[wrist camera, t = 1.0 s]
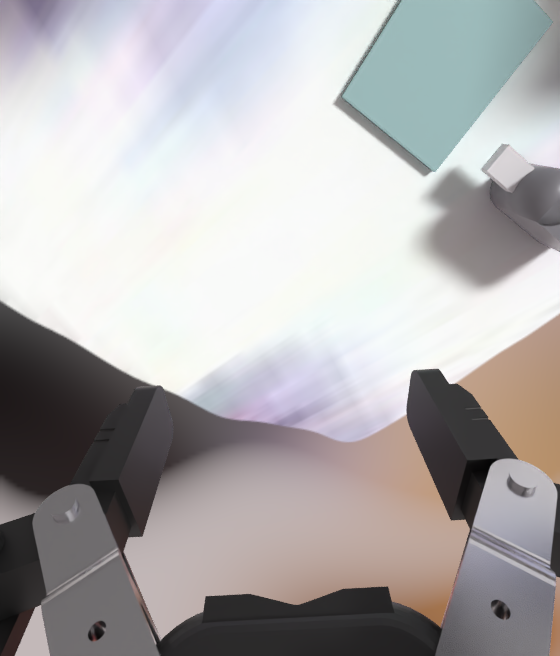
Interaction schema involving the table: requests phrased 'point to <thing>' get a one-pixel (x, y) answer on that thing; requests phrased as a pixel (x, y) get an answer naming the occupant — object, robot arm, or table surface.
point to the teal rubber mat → (442, 69)
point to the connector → (526, 194)
